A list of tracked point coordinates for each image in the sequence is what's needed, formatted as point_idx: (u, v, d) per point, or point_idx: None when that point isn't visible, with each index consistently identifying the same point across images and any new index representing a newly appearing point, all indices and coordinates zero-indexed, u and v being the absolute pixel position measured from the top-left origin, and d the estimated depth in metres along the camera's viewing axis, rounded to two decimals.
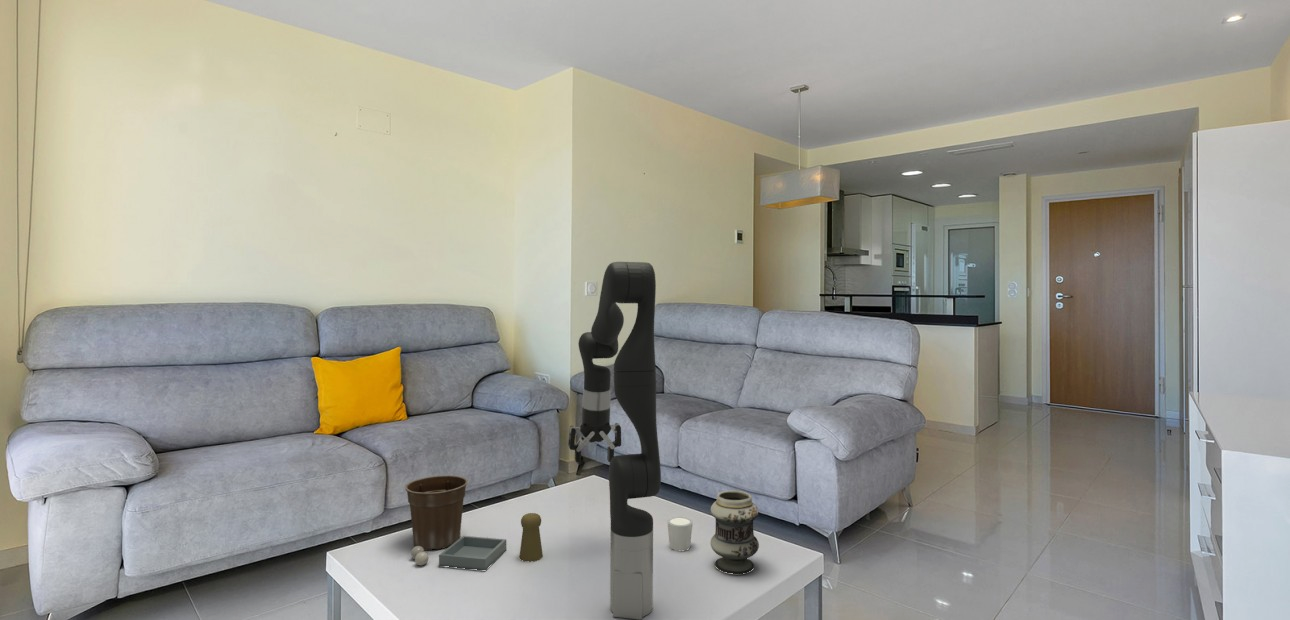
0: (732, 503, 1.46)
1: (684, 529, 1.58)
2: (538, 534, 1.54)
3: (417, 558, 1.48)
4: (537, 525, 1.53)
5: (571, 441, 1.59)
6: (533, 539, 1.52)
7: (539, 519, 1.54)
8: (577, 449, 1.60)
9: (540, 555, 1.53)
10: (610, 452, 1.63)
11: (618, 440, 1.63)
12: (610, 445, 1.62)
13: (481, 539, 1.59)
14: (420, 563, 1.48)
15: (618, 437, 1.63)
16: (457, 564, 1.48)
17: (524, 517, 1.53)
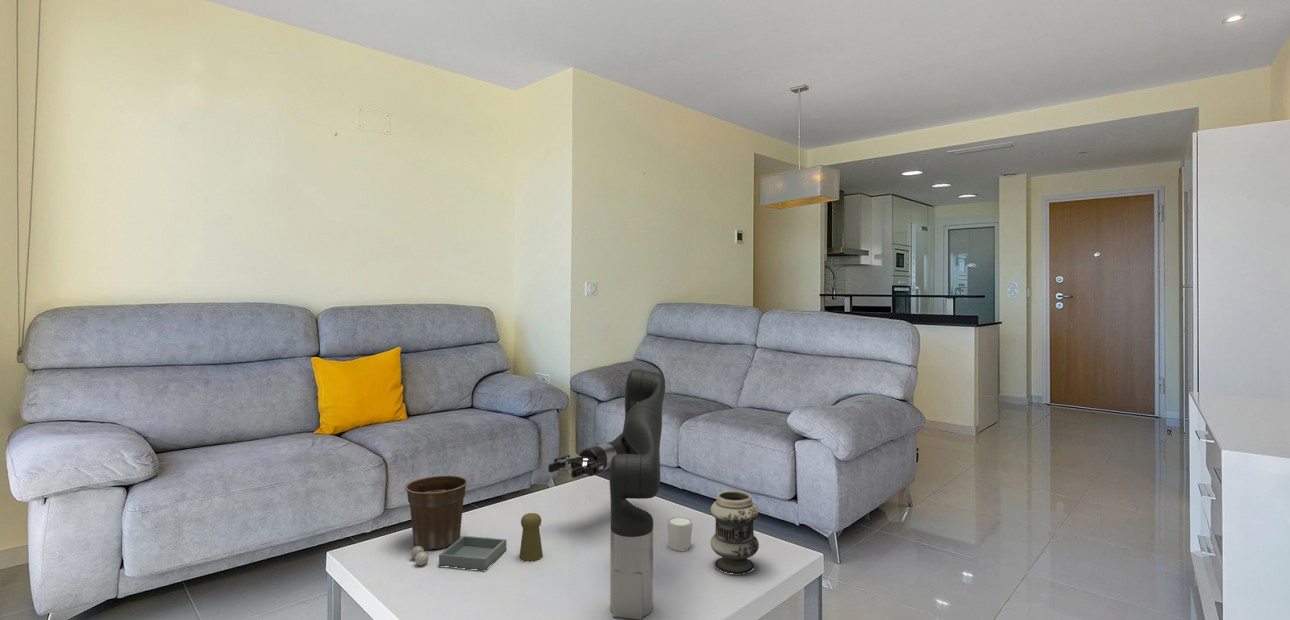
0: (732, 503, 1.46)
1: (684, 529, 1.58)
2: (538, 534, 1.54)
3: (417, 558, 1.48)
4: (537, 525, 1.53)
5: (559, 457, 1.73)
6: (533, 539, 1.52)
7: (539, 519, 1.54)
8: (558, 460, 1.70)
9: (540, 555, 1.53)
10: (579, 467, 1.63)
11: (592, 465, 1.65)
12: (583, 465, 1.65)
13: (481, 539, 1.59)
14: (420, 563, 1.48)
15: (594, 464, 1.66)
16: (457, 564, 1.48)
17: (524, 517, 1.53)
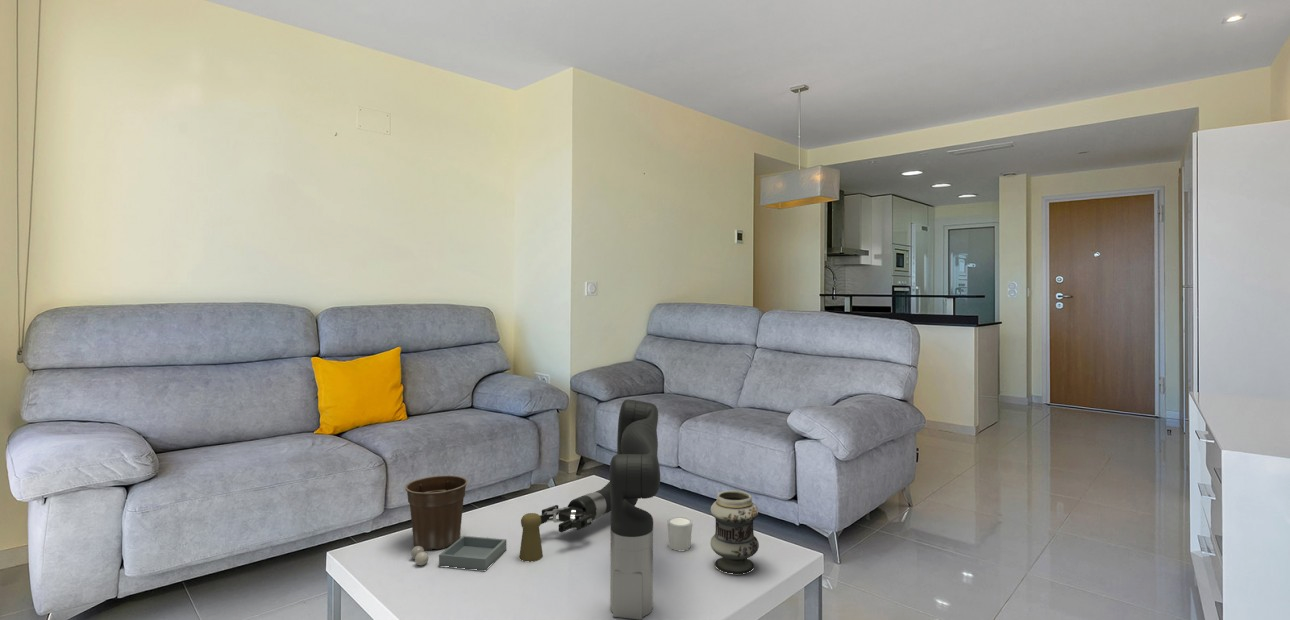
0: (732, 503, 1.46)
1: (684, 529, 1.58)
2: (538, 534, 1.54)
3: (417, 558, 1.48)
4: (537, 525, 1.53)
5: (547, 508, 1.69)
6: (533, 539, 1.52)
7: (539, 519, 1.54)
8: (546, 511, 1.66)
9: (540, 555, 1.53)
10: (566, 521, 1.59)
11: (581, 518, 1.61)
12: (571, 518, 1.61)
13: (481, 539, 1.59)
14: (420, 563, 1.48)
15: (583, 517, 1.62)
16: (457, 564, 1.48)
17: (524, 517, 1.53)
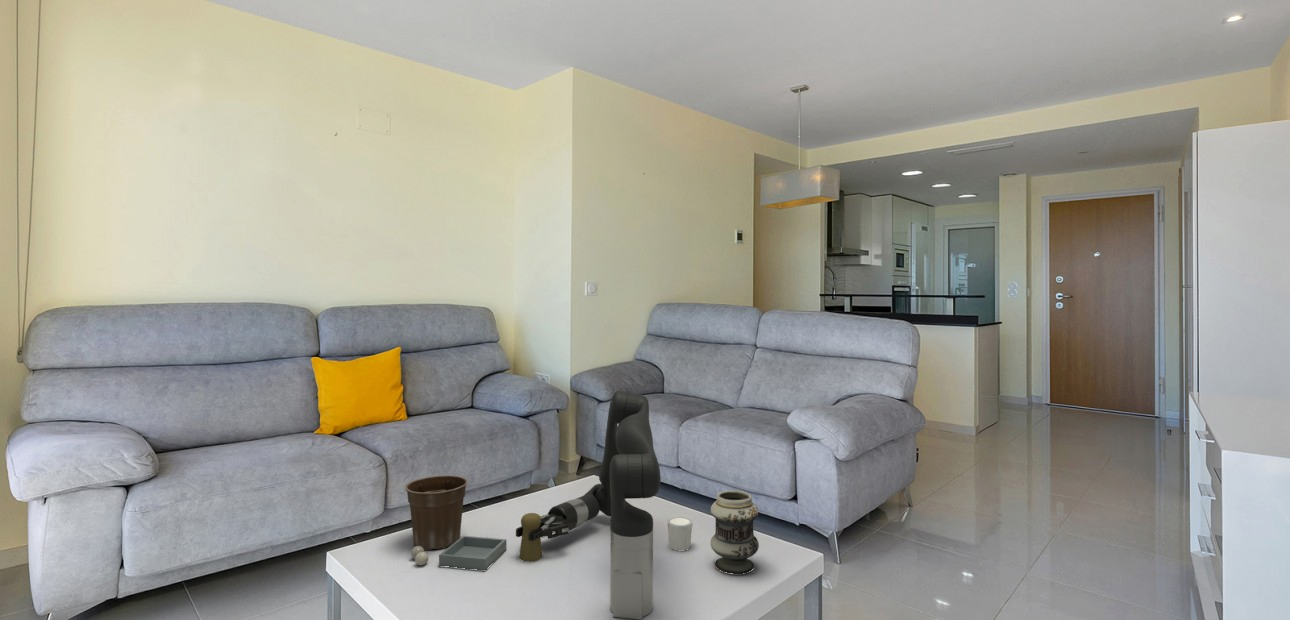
0: (732, 503, 1.46)
1: (684, 529, 1.58)
2: None
3: (417, 558, 1.48)
4: (537, 525, 1.53)
5: None
6: None
7: (539, 519, 1.54)
8: None
9: (540, 555, 1.53)
10: (537, 529, 1.53)
11: (553, 527, 1.55)
12: (542, 526, 1.55)
13: (481, 539, 1.59)
14: (420, 563, 1.48)
15: (556, 526, 1.55)
16: (457, 564, 1.48)
17: (524, 517, 1.53)
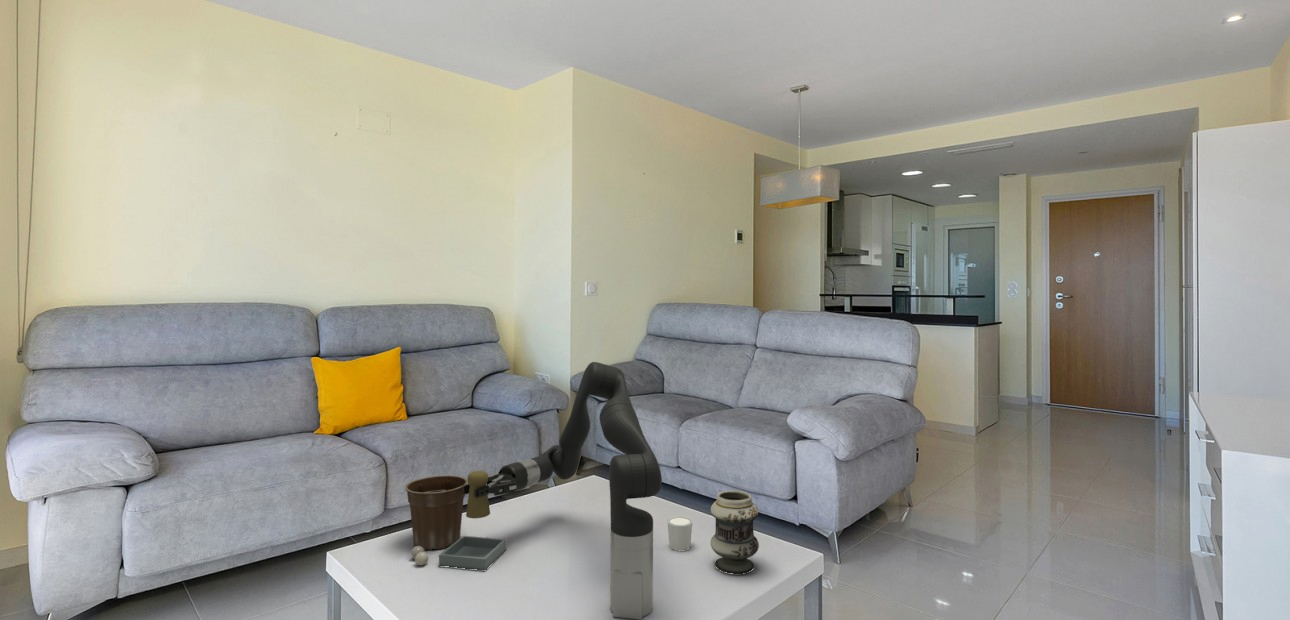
0: (732, 503, 1.46)
1: (684, 529, 1.58)
2: None
3: (417, 558, 1.48)
4: (483, 482, 1.52)
5: None
6: None
7: (485, 476, 1.53)
8: None
9: (486, 512, 1.53)
10: (483, 486, 1.52)
11: (500, 484, 1.54)
12: (489, 483, 1.54)
13: (481, 539, 1.59)
14: (420, 563, 1.48)
15: (503, 483, 1.54)
16: (457, 564, 1.48)
17: (470, 474, 1.53)
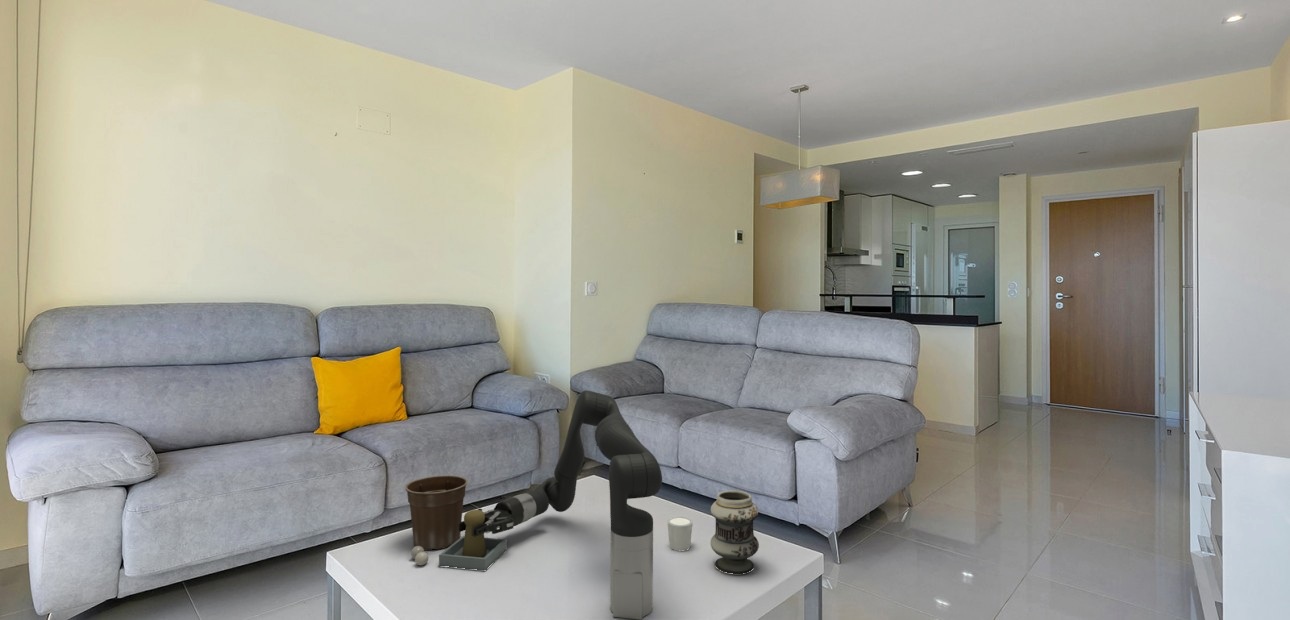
0: (732, 503, 1.46)
1: (684, 529, 1.58)
2: None
3: (417, 558, 1.48)
4: (480, 522, 1.52)
5: None
6: (476, 536, 1.51)
7: (482, 516, 1.53)
8: None
9: (482, 552, 1.52)
10: (481, 524, 1.52)
11: (498, 522, 1.53)
12: (487, 521, 1.54)
13: None
14: (420, 563, 1.48)
15: (501, 521, 1.54)
16: (457, 564, 1.48)
17: (467, 514, 1.52)
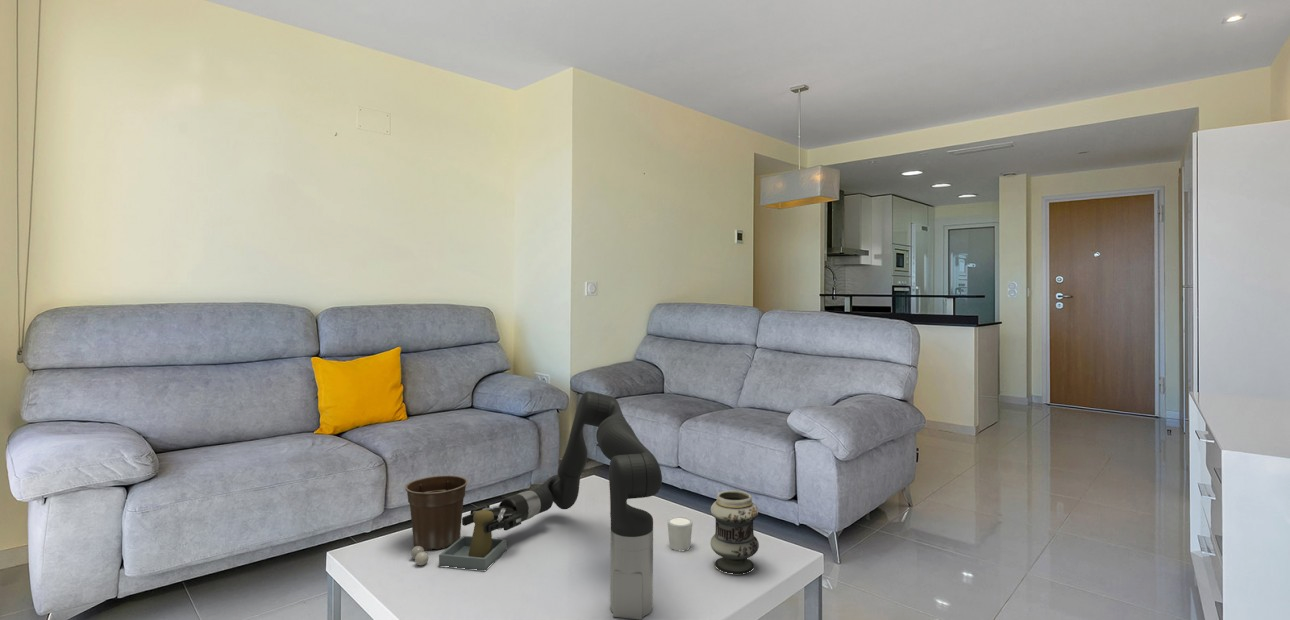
0: (732, 503, 1.46)
1: (684, 529, 1.58)
2: None
3: (417, 558, 1.48)
4: (489, 521, 1.53)
5: (477, 507, 1.63)
6: (484, 535, 1.52)
7: (492, 515, 1.54)
8: (474, 511, 1.60)
9: (489, 552, 1.52)
10: (493, 521, 1.53)
11: (508, 518, 1.55)
12: (499, 518, 1.55)
13: None
14: (420, 563, 1.48)
15: (511, 517, 1.56)
16: (457, 564, 1.48)
17: (477, 512, 1.53)
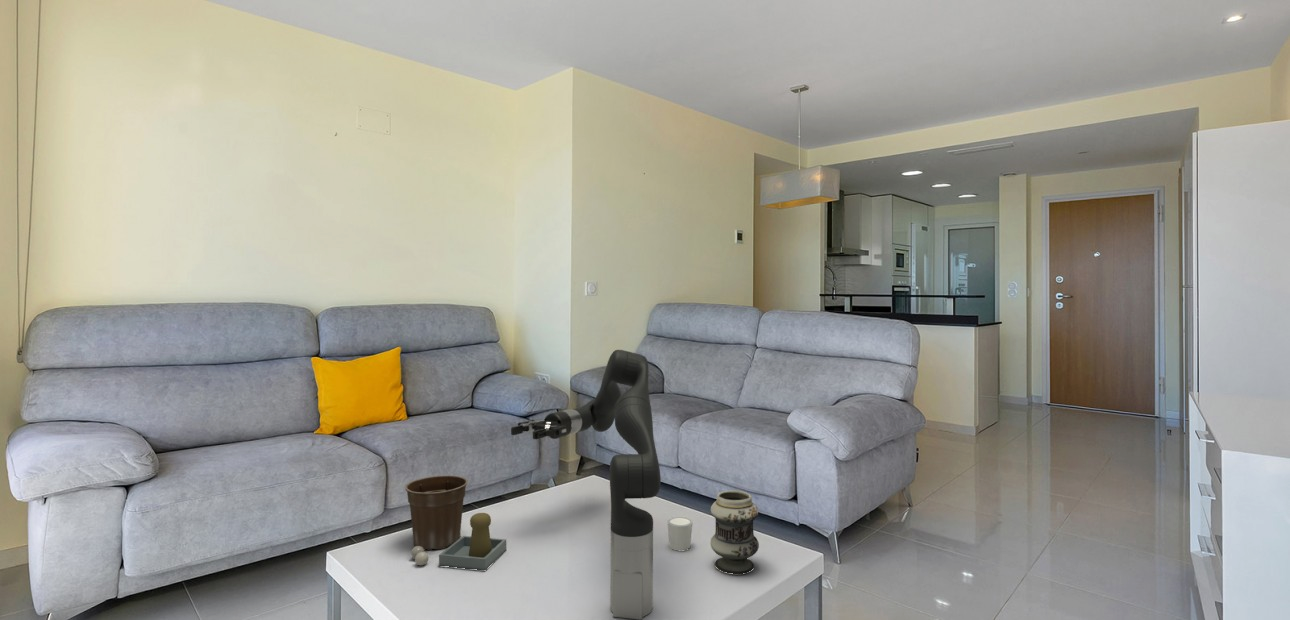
0: (732, 503, 1.46)
1: (684, 529, 1.58)
2: (487, 534, 1.52)
3: (417, 558, 1.48)
4: (486, 525, 1.51)
5: (523, 422, 1.73)
6: (482, 539, 1.51)
7: (488, 519, 1.52)
8: (522, 424, 1.70)
9: None
10: (541, 429, 1.63)
11: (555, 428, 1.65)
12: (546, 427, 1.65)
13: None
14: (420, 563, 1.48)
15: (557, 427, 1.66)
16: (457, 564, 1.48)
17: (473, 517, 1.52)
